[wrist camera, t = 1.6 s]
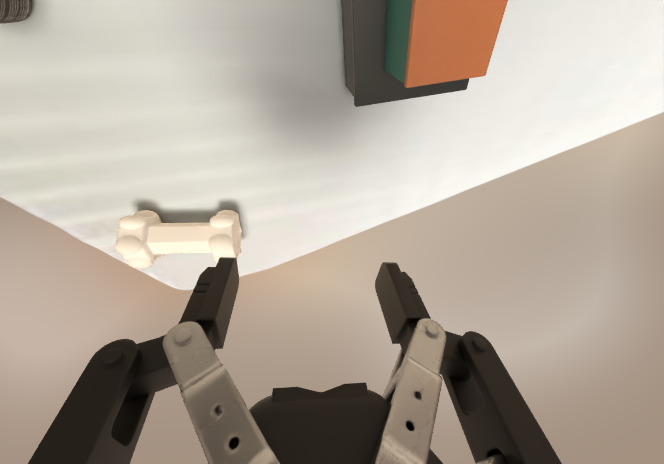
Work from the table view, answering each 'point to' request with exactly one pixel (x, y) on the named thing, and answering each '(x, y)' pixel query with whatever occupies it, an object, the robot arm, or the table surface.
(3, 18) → the pill bottle
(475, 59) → the orange and teal box
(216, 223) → the white bone
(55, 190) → the table surface
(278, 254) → the table surface
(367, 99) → the bottom box
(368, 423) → the robot arm
